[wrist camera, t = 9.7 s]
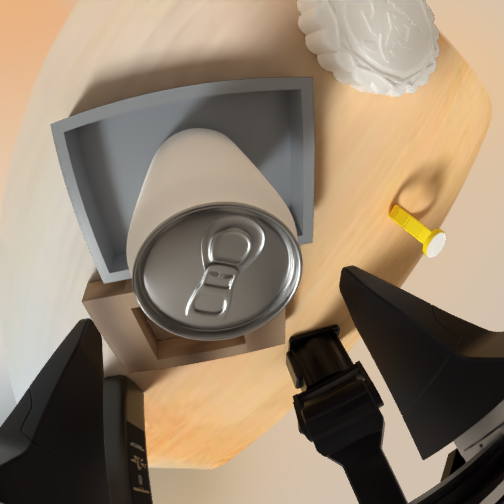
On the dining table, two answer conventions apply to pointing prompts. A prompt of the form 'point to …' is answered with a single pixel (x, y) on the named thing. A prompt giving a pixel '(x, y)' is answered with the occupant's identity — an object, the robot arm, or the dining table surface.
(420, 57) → the mooncake
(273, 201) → the can
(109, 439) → the wine bottle
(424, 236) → the watch
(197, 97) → the tray
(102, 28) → the dining table surface
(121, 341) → the holder
